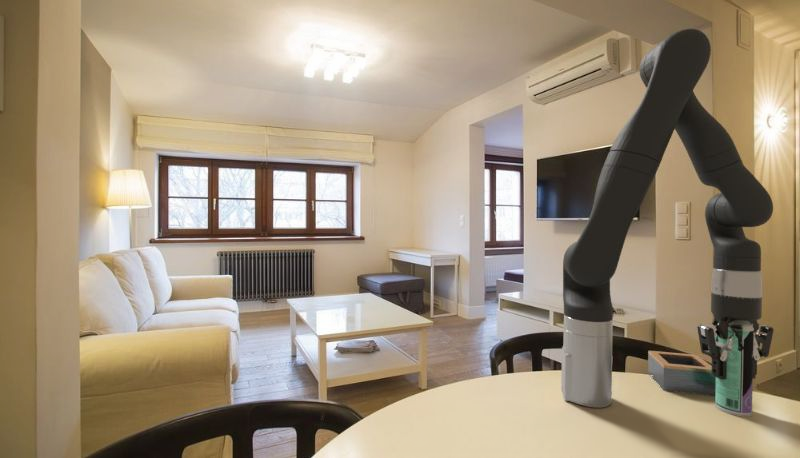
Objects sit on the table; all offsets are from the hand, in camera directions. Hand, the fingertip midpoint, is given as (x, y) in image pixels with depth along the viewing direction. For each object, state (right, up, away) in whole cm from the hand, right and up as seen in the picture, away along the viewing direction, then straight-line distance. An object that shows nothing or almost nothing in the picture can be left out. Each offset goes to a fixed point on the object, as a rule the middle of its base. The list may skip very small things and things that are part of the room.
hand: (734, 377), depth 75 cm
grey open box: (-2, -6, +12) cm, 14 cm away
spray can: (0, -7, 0) cm, 7 cm away
